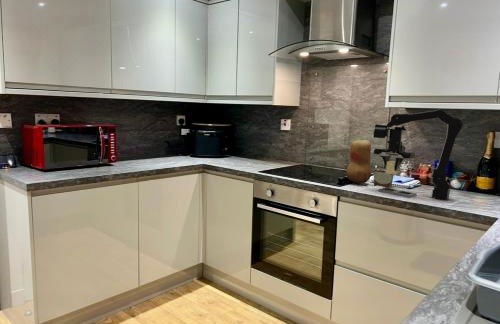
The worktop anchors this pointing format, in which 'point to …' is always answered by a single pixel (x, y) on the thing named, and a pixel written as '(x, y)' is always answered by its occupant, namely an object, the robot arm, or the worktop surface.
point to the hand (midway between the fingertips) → (391, 170)
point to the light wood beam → (391, 167)
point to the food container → (382, 178)
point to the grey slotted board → (397, 192)
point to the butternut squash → (359, 162)
